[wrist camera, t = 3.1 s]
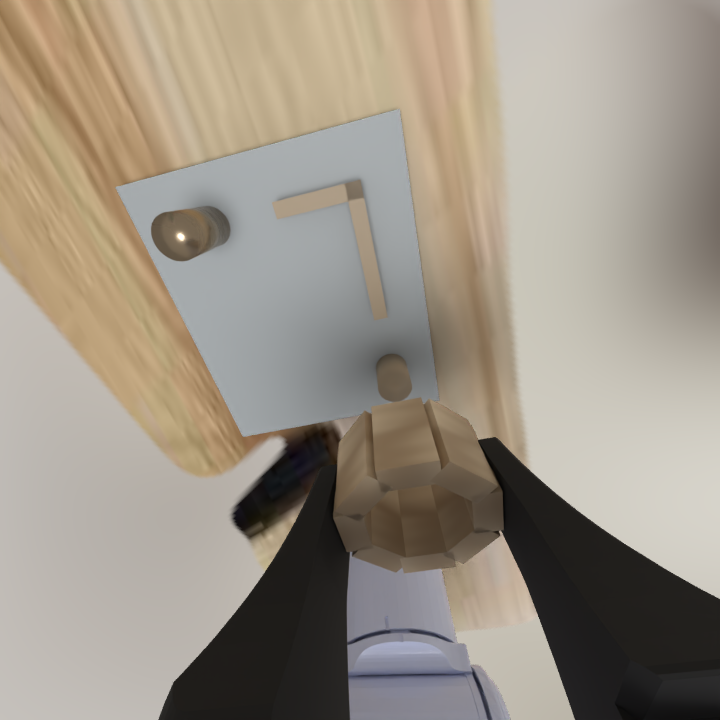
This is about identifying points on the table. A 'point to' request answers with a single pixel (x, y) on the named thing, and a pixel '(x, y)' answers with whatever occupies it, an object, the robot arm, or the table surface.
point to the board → (302, 275)
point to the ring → (415, 488)
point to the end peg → (189, 232)
